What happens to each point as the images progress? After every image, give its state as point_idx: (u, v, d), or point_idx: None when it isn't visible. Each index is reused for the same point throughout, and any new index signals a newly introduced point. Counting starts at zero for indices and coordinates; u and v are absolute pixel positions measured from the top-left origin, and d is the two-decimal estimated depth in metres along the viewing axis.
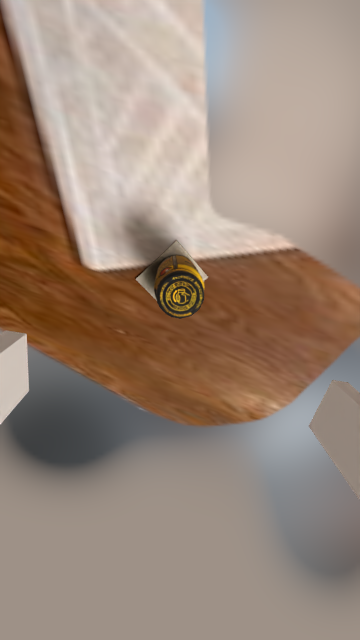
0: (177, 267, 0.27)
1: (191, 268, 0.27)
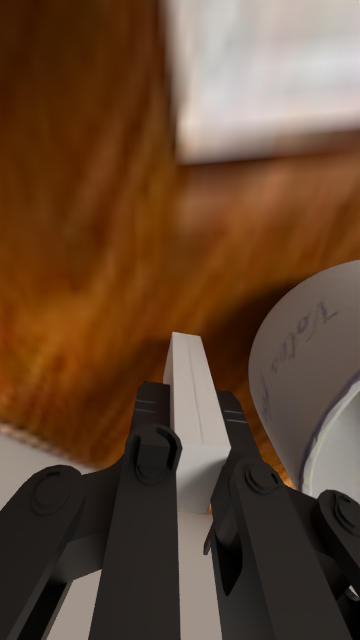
0: None
1: None
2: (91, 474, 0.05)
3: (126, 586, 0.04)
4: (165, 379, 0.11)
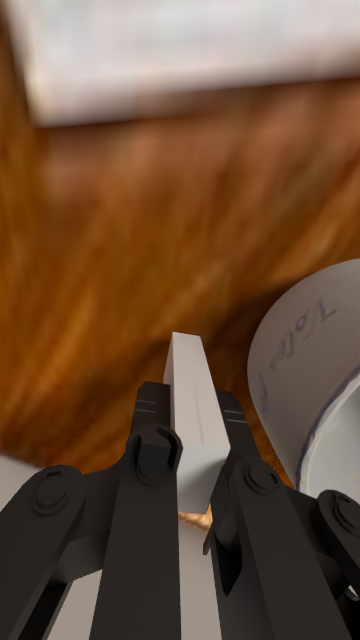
0: None
1: None
2: (92, 474, 0.05)
3: (127, 586, 0.04)
4: (165, 379, 0.11)
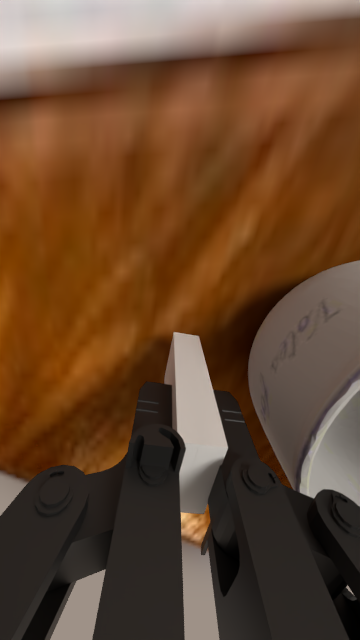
0: None
1: None
2: (94, 474, 0.05)
3: (130, 586, 0.04)
4: (166, 379, 0.11)
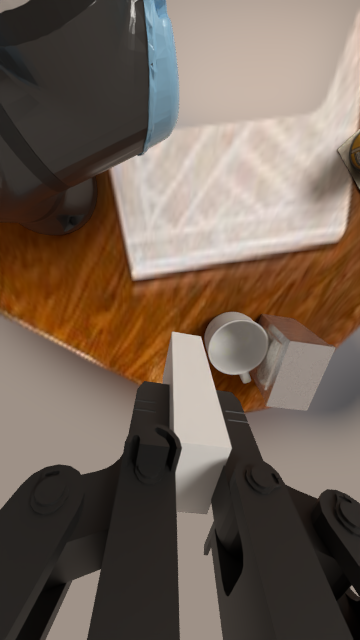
0: None
1: None
2: (90, 474, 0.05)
3: (125, 586, 0.04)
4: (165, 379, 0.11)
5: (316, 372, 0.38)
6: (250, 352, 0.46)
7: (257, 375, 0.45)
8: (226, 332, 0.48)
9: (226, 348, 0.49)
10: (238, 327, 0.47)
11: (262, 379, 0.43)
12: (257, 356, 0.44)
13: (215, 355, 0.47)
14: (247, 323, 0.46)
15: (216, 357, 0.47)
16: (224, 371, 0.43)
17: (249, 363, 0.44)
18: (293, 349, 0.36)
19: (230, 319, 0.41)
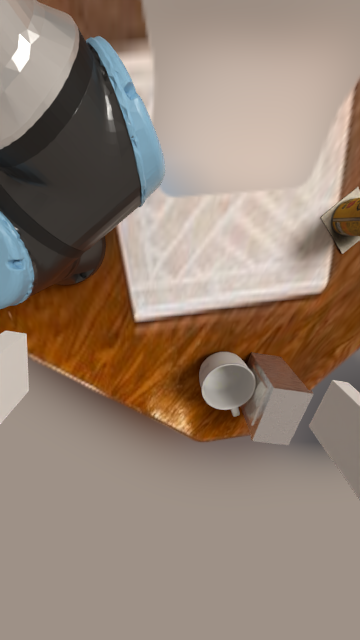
0: None
1: None
2: None
3: None
4: None
5: (296, 413, 0.43)
6: (240, 387, 0.51)
7: (245, 410, 0.50)
8: (219, 368, 0.52)
9: (218, 382, 0.53)
10: None
11: (249, 415, 0.47)
12: (246, 393, 0.49)
13: (208, 389, 0.52)
14: None
15: (209, 391, 0.51)
16: (216, 407, 0.48)
17: (239, 398, 0.49)
18: (276, 394, 0.41)
19: (222, 362, 0.45)
